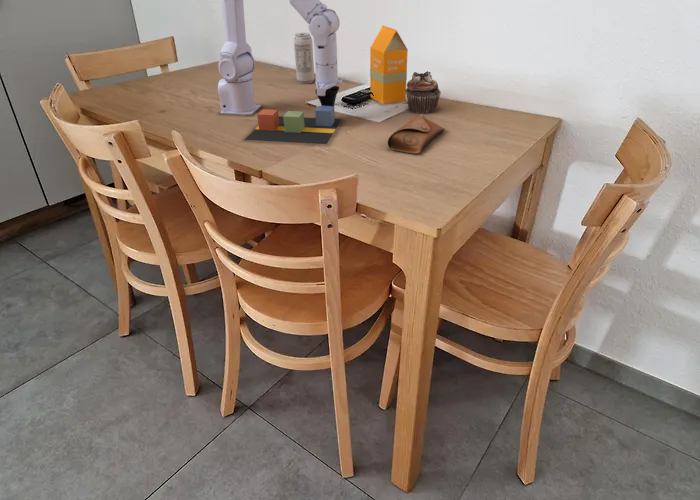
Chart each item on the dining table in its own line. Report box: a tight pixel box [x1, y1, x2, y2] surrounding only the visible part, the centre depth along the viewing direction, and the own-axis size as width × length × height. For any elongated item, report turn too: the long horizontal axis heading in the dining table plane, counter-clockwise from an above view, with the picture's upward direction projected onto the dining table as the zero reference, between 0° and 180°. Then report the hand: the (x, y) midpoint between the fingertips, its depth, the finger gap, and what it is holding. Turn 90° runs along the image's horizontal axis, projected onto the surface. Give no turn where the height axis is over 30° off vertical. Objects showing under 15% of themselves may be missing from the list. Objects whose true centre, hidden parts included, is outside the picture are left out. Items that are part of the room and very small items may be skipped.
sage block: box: [282, 110, 305, 133], centre depth 126 cm, size 4×4×4 cm
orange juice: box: [369, 25, 409, 105], centre depth 143 cm, size 8×9×20 cm
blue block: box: [314, 105, 336, 127], centre depth 129 cm, size 4×4×4 cm
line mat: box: [244, 116, 342, 145], centre depth 128 cm, size 21×18×1 cm
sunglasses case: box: [387, 113, 446, 155], centre depth 120 cm, size 18×7×7 cm
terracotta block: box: [256, 108, 280, 131], centre depth 128 cm, size 4×4×4 cm
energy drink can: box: [293, 32, 316, 85], centre depth 162 cm, size 6×6×15 cm
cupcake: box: [406, 70, 442, 114], centre depth 137 cm, size 10×10×10 cm
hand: (328, 115), depth 133 cm, fingers closed
